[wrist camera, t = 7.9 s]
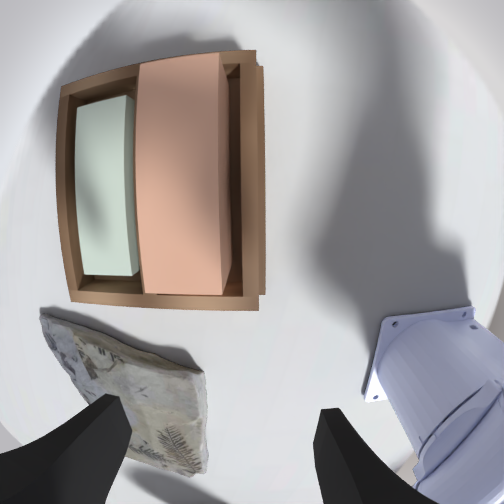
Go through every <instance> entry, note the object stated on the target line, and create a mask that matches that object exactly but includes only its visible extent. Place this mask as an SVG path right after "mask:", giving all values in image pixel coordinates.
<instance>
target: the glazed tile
mask: <svg viewBox="0 0 504 504" xmlns="http://www.w3.org/2000/svg"><path fill="white" fill-rule="evenodd" d="M134 106H135V100H134V99H132V98H130V97H129V96H127V95H124V96H120V97H115V98H111V99H107V100H103V101H99V102H95V103H92V104H88V105H85V106H81V107H78V108H77V119H76V136H75V191H76V209H77V221H78V231H79V240H80V248H81V256H82V263H83V269H84V274H86V275H116V276H133V275H134V274H135V273H136V272H138V271H139V270H140V265H139V256H138V246H137V235H136V222H135V206H134V181H133V130H134Z"/></svg>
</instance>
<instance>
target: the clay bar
mask: <svg viewBox="0 0 504 504" xmlns="http://www.w3.org/2000/svg"><path fill="white" fill-rule="evenodd" d="M135 162H136V199H137V217H138V231H139V243H140V253H141V262H142V271H143V279H144V287H145V293H157V294H192V295H222V294H223V291H224V288H225V285H226V282H227V278H228V275H229V272H230V269H231V266H232V262H233V255H232V215H231V150H230V87H229V84H228V80H227V77H226V74H225V71H224V67H223V64H222V61H221V58H220V55H219V53H211V54H200V55H191V56H184V57H177V58H170V59H164V60H158V61H153V62H148V63H143V64H140V71H139V82H138V95H137V112H136V148H135Z"/></svg>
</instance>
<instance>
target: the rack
mask: <svg viewBox="0 0 504 504" xmlns="http://www.w3.org/2000/svg"><path fill="white" fill-rule="evenodd" d="M211 53H219V55H220V58H221V61H222V64H223V67H224V71H225V74H226V77H227V80H228V84H229V87H230V150H231V215H232V255H233V262H232V266H231V269H230V272H229V275H228V278H227V282H226V285H225V288H224V291H223V294H222V295H192V294H157V293H145V287H144V279H143V271H142V262H141V253H140V243H139V231H138V217H137V199H136V162H135V148H136V112H137V95H138V82H139V71H140V64H143V63H148V62H153V61H158V60H164V59H170V58H177V57H184V56H191V55H200V54H211ZM124 95H127V96H129V97H130V98H132V99H134V100H135V106H134V130H133V181H134V206H135V222H136V235H137V246H138V256H139V265H140V270H139V271H138V272H136V273H135V274H134V275H133V276H116V275H86V274H84V269H83V263H82V256H81V248H80V240H79V231H78V221H77V209H76V191H75V136H76V119H77V108H78V107H81V106H85V105H88V104H92V103H95V102H99V101H103V100H107V99H111V98H115V97H120V96H124ZM56 199H57V213H58V225H59V234H60V242H61V250H62V256H63V263H64V269H65V274H66V280H67V285H68V290H69V294H70V299H71V302H79V303H89V304H100V305H112V306H126V307H141V308H159V309H182V310H220V311H259V295H265V269H266V234H265V125H264V76H263V66H256V50H238V51H220V52H208V53H198V54H190V55H182V56H175V57H169V58H163V59H157V60H152V61H147V62H142V63H138V64H133V65H129V66H125V67H121V68H117V69H113V70H110V71H106V72H103V73H99V74H96V75H93V76H90V77H86V78H83V79H80V80H78V81H75V82H72V83H69V84H66V85H64V86H61V92H60V100H59V109H58V119H57V134H56Z"/></svg>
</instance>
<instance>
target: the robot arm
mask: <svg viewBox="0 0 504 504" xmlns="http://www.w3.org/2000/svg"><path fill="white" fill-rule="evenodd" d="M475 311H476V310H475V308H474V307H473V306H468V307H462V308H456V309H449V310H442V311H434V312H426V313H418V314H409V315H400V316H390V317H386V318H385V319H384V320H383V321H382V323H381V329H380V333H379V338H378V343H377V347H376V352H375V356H374V360H373V364H372V368H371V372H370V376H369V380H368V383H367V387H366V390H365V394H364V400H365V402H373V401H378V400H384V399H388V400H389V402H390V403H391V405H392V407H393V409H394V411H395V413H396V415H397V417H398V419H399V421H400V423H401V425H402V427H403V429H404V430H405V432H406V434H407V436H408V438H409V440H410V442H411V444H412V447H413V449H414V451H415V453H416V455H417V457H418V459H419V462H418V464H417V465H416V466H415V467H414V468H413V471H414V474H415V476H416V478H417V481H416V483H415V484H414V485H413V487H411V486H410V485H409V484H407V483H406V482H405V481H404V480H402V479H401V478H400V477H399V476H398V475H396V474H395V473H394V472H393V471H392V470H391V469H390V468H389V467H388V466H387V465H386V464H385V463H384V462H383V461H382V460H381V459H380V458H379V457H378V456H377V455H376V454H375V453H374V452H373V451H372V450H371V448H370V447H369V446H368V445H367V444H366V443H365V442H364V440H363V439H362V438H361V437H360V435H359V434H358V433H357V432H356V430H355V429H354V428H353V426H352V425H351V424H350V422H349V421H348V420H347V418H346V417H345V415H344V414H343V413H342V411H341V410H340V409H339V408H331V409H321V413H320V417H319V421H318V425H317V429H316V433H315V437H314V441H313V449H314V459H315V468H316V472H317V477H318V481H319V486H320V490H321V494H322V499H323V503H324V504H504V343H503V342H502V341H501V340H500V339H499V338H497V337H496V336H495V335H494V334H492V333H491V332H490V331H489V330H487V329H486V328H485V327H483V326H482V325H481V324H480V323H478V322H477V321H476V320H474V315H475ZM462 314H463V315H462ZM395 321H396V323H395V324H394V325H392V324H393V323H394V322H395ZM375 395H376V396H375ZM131 435H132V428H131V426H130V423H129V421H128V418H127V416H126V413H125V411H124V408H123V405H122V403H121V400H120V397H119V396H115V395H111V394H107V393H105V394H104V395H102V396H101V397H100V398H98V399H97V400H96V401H94V402H93V403H92V404H90V405H89V406H88V407H86V408H85V409H83V410H82V411H81V412H79V413H78V414H77V415H75V416H74V417H72V418H71V419H70V420H68V421H67V422H65V423H64V424H62V425H61V426H59V427H58V428H56V429H54V430H53V431H51V432H50V433H48V434H46V435H45V436H43V437H41V438H39V439H37V440H35V441H33V442H31V443H29V444H27V445H24V446H22V447H19V448H17V449H14V450H11V451H8V452H5V453H1V454H0V504H105V502H106V498H107V496H108V493H109V491H110V488H111V486H112V484H113V482H114V479H115V477H116V475H117V473H118V470H119V468H120V466H121V464H122V461H123V459H124V457H125V455H126V452H127V449H128V446H129V442H130V439H131Z"/></svg>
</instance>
